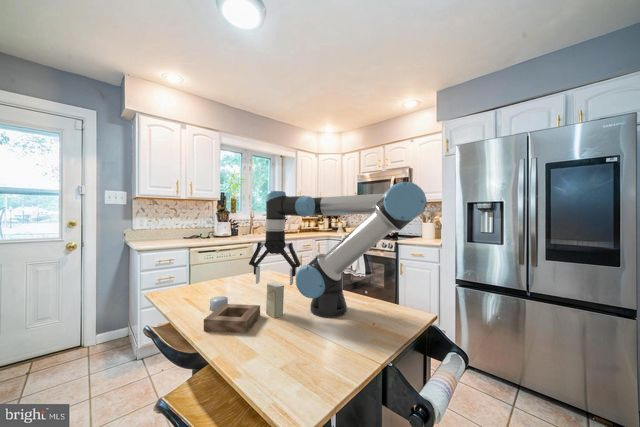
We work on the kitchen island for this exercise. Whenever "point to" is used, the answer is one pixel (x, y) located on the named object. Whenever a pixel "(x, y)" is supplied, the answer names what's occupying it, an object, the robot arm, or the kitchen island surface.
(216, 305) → the light blue rounded block
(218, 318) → the socket block
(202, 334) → the kitchen island surface
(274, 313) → the skincare box
